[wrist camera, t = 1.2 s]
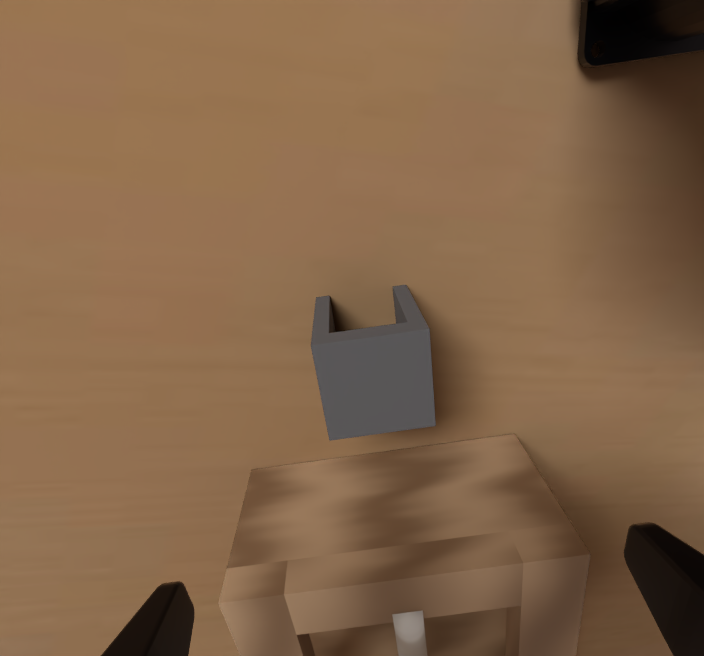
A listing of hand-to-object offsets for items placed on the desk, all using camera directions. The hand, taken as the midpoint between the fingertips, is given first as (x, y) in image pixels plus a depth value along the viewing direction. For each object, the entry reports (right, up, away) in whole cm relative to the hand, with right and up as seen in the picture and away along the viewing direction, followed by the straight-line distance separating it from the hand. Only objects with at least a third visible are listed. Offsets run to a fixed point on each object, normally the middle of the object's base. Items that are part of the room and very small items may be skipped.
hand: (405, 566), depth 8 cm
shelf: (+2, -9, +17) cm, 19 cm away
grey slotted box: (0, +5, +11) cm, 12 cm away
